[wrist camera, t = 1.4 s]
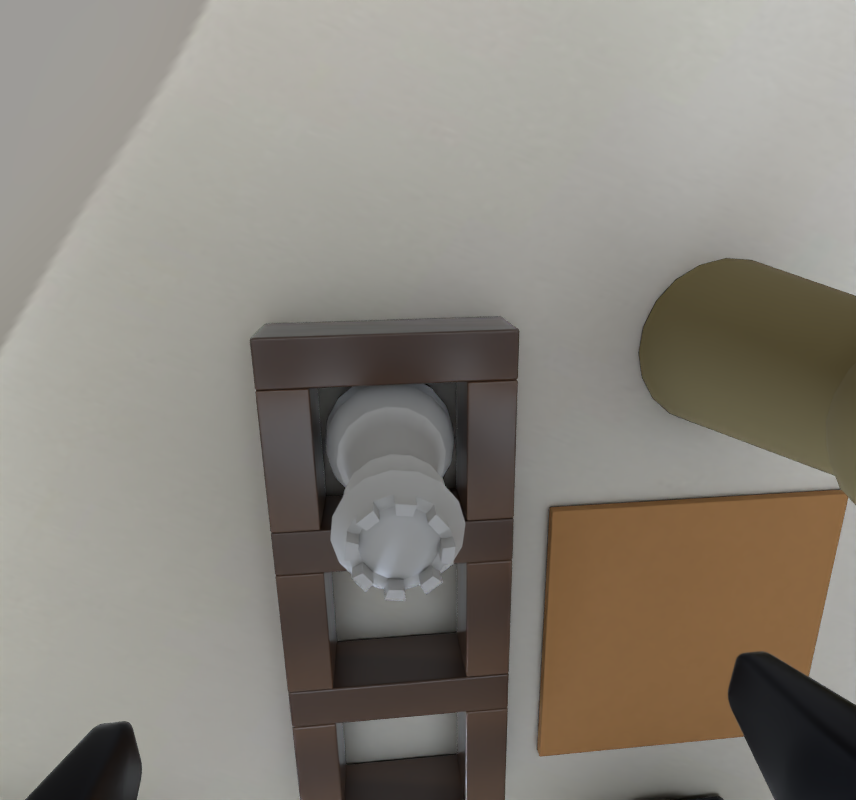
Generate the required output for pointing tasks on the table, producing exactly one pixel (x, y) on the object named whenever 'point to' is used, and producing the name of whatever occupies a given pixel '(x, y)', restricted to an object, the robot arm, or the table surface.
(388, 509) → the rook chess piece
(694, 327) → the pepper shaker
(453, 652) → the piece rack
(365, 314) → the table surface
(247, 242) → the table surface
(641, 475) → the table surface
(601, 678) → the cork mat
